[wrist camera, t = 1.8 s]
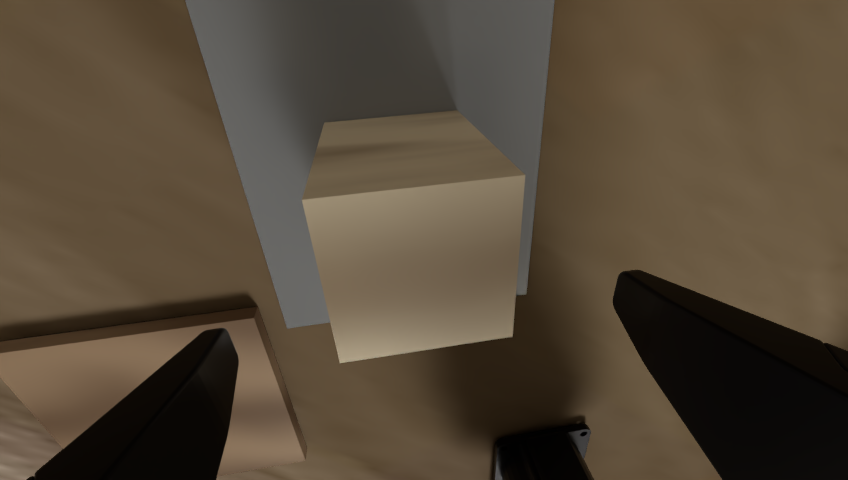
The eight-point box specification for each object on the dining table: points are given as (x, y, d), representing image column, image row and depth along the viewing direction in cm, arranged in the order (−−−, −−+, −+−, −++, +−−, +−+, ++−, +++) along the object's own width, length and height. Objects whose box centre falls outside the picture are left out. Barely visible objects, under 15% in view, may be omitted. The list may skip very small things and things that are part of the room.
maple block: (458, 225, 17) (512, 336, 11) (345, 239, 17) (339, 363, 11) (457, 110, 15) (525, 175, 9) (324, 122, 14) (301, 199, 8)
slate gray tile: (523, 289, 20) (526, 294, 20) (288, 322, 19) (287, 329, 19) (553, -38, 13) (558, -39, 13) (184, -17, 12) (178, -18, 12)
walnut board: (307, 447, 24) (305, 460, 23) (112, 481, 23) (104, 496, 22) (257, 306, 18) (253, 318, 17) (-4, 342, 17) (-19, 356, 16)
